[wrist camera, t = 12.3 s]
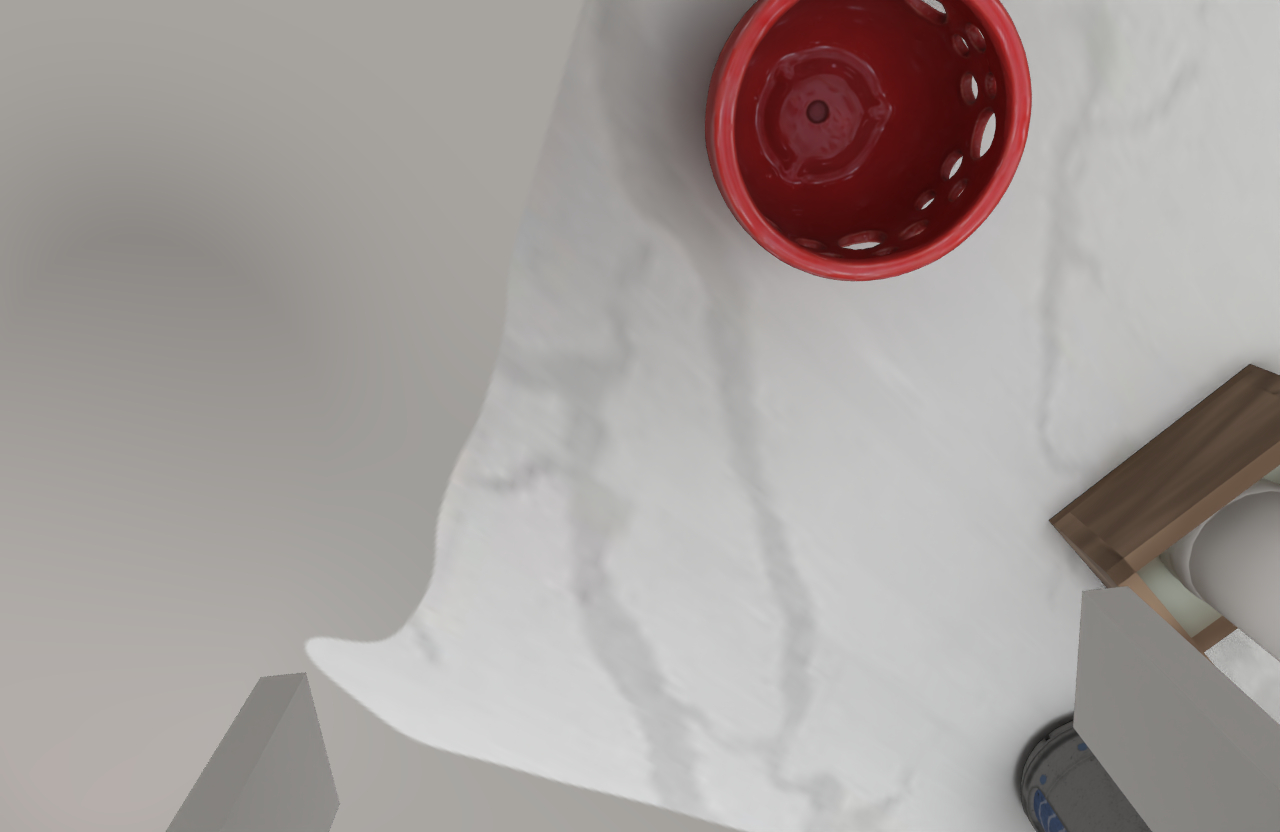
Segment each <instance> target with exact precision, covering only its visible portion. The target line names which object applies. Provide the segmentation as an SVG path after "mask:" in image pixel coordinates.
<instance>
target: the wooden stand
mask: <svg viewBox="0 0 1280 832" xmlns="http://www.w3.org/2000/svg"><path fill="white" fill-rule="evenodd" d="M1262 478H1264V479H1266V480H1268V481H1272V482H1275V483H1277V484H1279V485H1280V375H1277V374H1275V373H1272V372H1269V371H1267V370H1264V369H1262V368H1259V367H1256V366H1254V365H1251V364H1250V365H1248V366H1247V367H1246V368H1244V369H1243V370H1242V371H1241V372H1239V373H1238V374H1237V375H1235V376H1234V377H1233V378H1232V379H1230V380H1229V381H1228V382H1226V383H1225V384H1224V385H1223V386H1221V387H1220V388H1219V389H1217V390H1216V391H1215V392H1214V393H1212V394H1211V395H1210V396H1208V397H1207V398H1206V399H1205V400H1203V401H1202V402H1201V403H1199V404H1198V405H1197V406H1196V407H1194V408H1193V409H1192V410H1190V411H1189V412H1188V413H1187V414H1185V415H1184V416H1183V417H1181V418H1180V419H1179V420H1178V421H1176V422H1175V423H1174V424H1172V425H1171V426H1170V427H1169V428H1167V429H1166V430H1165V431H1163V432H1162V433H1161V434H1159V435H1158V436H1157V437H1156V438H1154V439H1153V440H1152V441H1150V442H1149V443H1148V444H1147V445H1145V446H1144V447H1143V448H1141V449H1140V450H1139V451H1138V452H1136V453H1135V454H1134V455H1132V456H1131V457H1130V458H1129V459H1127V460H1126V461H1125V462H1123V463H1122V464H1121V465H1120V466H1118V467H1117V468H1116V469H1114V470H1113V471H1112V472H1111V473H1109V474H1108V475H1107V476H1105V477H1104V478H1103V479H1102V480H1100V481H1099V482H1098V483H1096V484H1095V485H1094V486H1093V487H1091V488H1090V489H1089V490H1087V491H1086V492H1085V493H1084V494H1082V495H1081V496H1080V497H1078V498H1077V499H1076V500H1075V501H1073V502H1072V503H1071V504H1069V505H1068V506H1067V507H1066V508H1064V509H1063V510H1062V511H1060V512H1059V513H1058V514H1057V515H1055V516H1054V517H1053V518H1051V519H1050V520H1049V521H1050V522H1051V524H1052V525H1053V526H1054V527H1055V528H1056V529H1057V531H1058V532H1059V533H1060V534H1061V535H1062V536H1063V538H1064V539H1065V540H1066V541H1067V542H1068V543H1069V545H1070V546H1071V547H1072V548H1073V549H1074V550H1075V551H1076V553H1077V554H1078V555H1079V556H1080V557H1081V558H1082V560H1083V561H1084V562H1085V563H1086V564H1087V565H1088V567H1089V568H1090V569H1091V570H1092V571H1093V572H1094V573H1095V575H1096V576H1097V577H1098V578H1099V579H1100V580H1101V582H1102V583H1103V584H1104V585H1105V586H1106V587H1107V588H1116V587H1125V586H1128V587H1129V588H1130V589H1131V590H1132V591H1133V592H1135V593H1136V594H1137V595H1138V596H1139V597H1140V598H1141V599H1142V600H1143V601H1144V602H1145V603H1147V604H1148V605H1149V606H1150V607H1151V608H1152V609H1153V610H1154V611H1155V612H1156V613H1158V614H1159V615H1160V616H1161V617H1162V618H1163V619H1164V620H1165V621H1166V622H1167V623H1168V624H1170V625H1171V626H1172V627H1173V628H1174V629H1175V630H1176V631H1177V632H1178V633H1179V634H1181V635H1182V636H1183V637H1184V638H1185V639H1186V640H1187V641H1188V642H1189V643H1190V644H1191V645H1193V646H1194V647H1195V648H1196V649H1197V650H1198V651H1199V652H1200V653H1201V654H1202V655H1204V656H1205V657H1206V658H1207V659H1208V660H1209V658H1208V657H1207V656H1206V655H1205V654H1204V652H1205V651H1206V650H1208V649H1209V648H1211V647H1212V646H1213V645H1215V644H1216V643H1218V642H1219V641H1220V640H1222V639H1223V638H1225V637H1226V636H1227V635H1229V634H1230V633H1232V632H1233V631H1234V630H1236V629H1237V627H1236V626H1235V625H1234V624H1232V623H1231V622H1230V621H1229V620H1228V619H1226V618H1225V617H1224V616H1223V615H1221V614H1220V613H1219V612H1218V611H1216V610H1215V609H1214V608H1213V607H1211V606H1210V605H1209V604H1208V603H1206V602H1204V601H1202V600H1201V599H1199V598H1198V597H1196V596H1195V595H1194V594H1192V593H1191V592H1190V591H1189V590H1188V589H1186V588H1185V587H1184V586H1183V584H1182V583H1181V582H1180V581H1179V580H1178V579H1177V578H1175V577H1174V576H1173V575H1172V574H1171V573H1170V572H1169V570H1168V569H1167V567H1166V566H1165V565H1164V563H1163V562H1162V561H1161V558H1160V554H1161V553H1162V552H1164V551H1165V550H1166V549H1168V548H1169V547H1171V546H1172V545H1173V544H1175V543H1176V542H1177V541H1179V540H1180V539H1181V538H1183V537H1184V536H1185V535H1187V534H1188V533H1189V532H1191V531H1192V530H1193V529H1195V528H1196V527H1197V526H1199V525H1200V524H1201V523H1203V522H1204V521H1205V520H1207V519H1208V518H1209V517H1211V516H1212V515H1213V514H1215V513H1216V512H1217V511H1219V510H1220V509H1221V508H1223V507H1224V506H1225V505H1227V504H1228V503H1229V502H1231V501H1232V500H1233V499H1235V498H1236V497H1237V496H1239V495H1240V494H1241V493H1243V492H1244V491H1245V490H1247V489H1248V488H1250V487H1251V486H1252V485H1254V484H1255V483H1256V482H1258V481H1259V480H1260V479H1262ZM1209 661H1210V660H1209ZM1210 662H1211V661H1210ZM1211 663H1212V662H1211ZM1212 664H1213V663H1212ZM1213 665H1214V664H1213ZM1214 666H1215V665H1214Z"/></svg>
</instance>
